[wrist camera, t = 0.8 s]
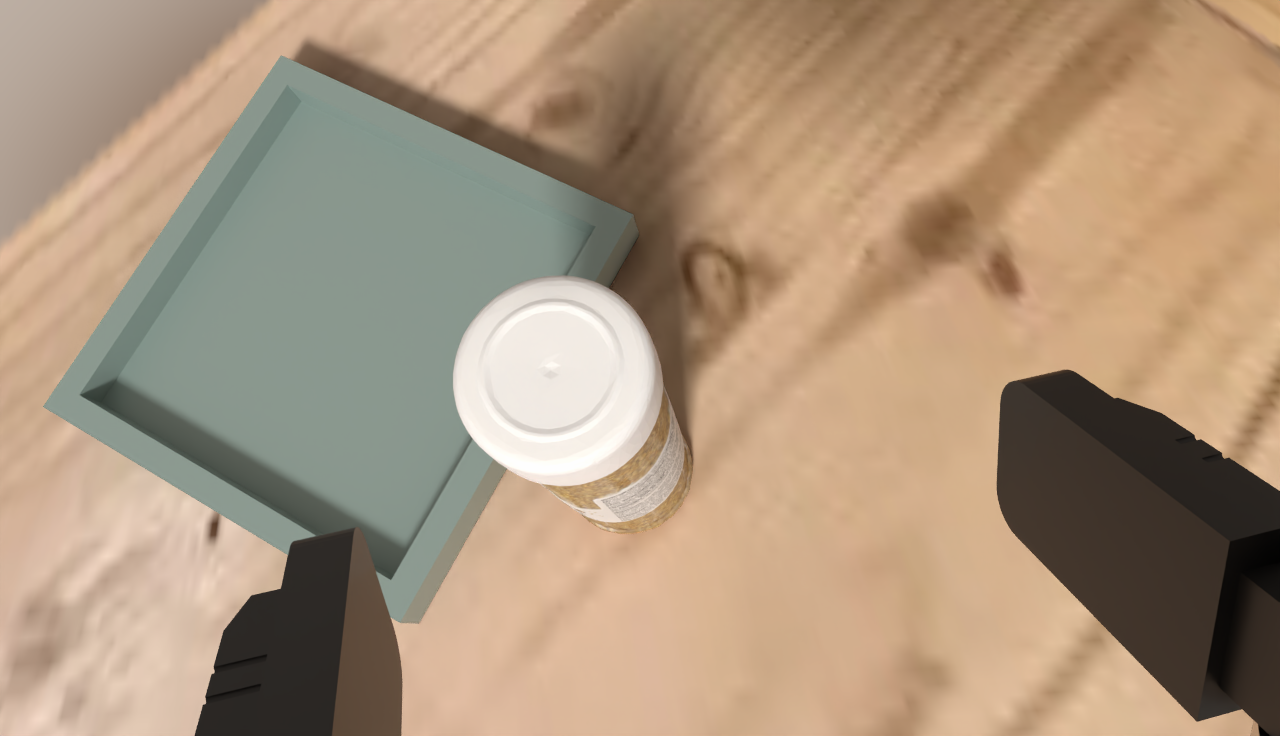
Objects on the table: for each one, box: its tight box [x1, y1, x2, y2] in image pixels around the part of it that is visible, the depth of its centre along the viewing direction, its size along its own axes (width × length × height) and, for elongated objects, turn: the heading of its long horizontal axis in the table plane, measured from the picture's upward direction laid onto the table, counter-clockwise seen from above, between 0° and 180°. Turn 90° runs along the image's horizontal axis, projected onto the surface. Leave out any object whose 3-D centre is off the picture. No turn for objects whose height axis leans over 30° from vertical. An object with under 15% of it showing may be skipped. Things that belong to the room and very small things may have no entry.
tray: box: [43, 56, 639, 623], centre depth 35 cm, size 16×16×2 cm
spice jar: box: [453, 275, 692, 534], centre depth 27 cm, size 5×5×14 cm
